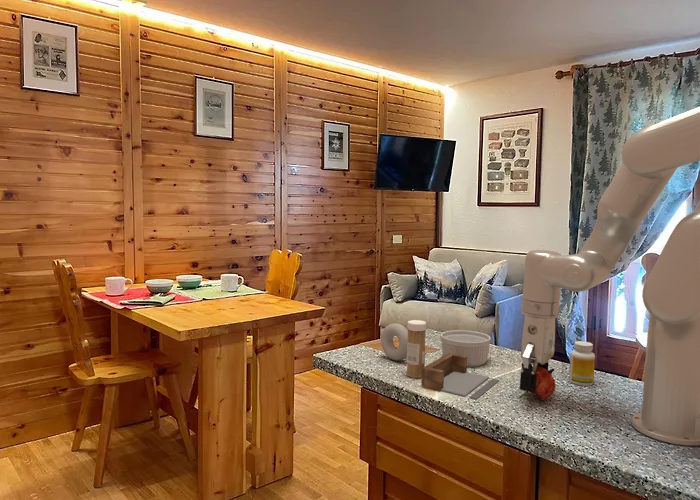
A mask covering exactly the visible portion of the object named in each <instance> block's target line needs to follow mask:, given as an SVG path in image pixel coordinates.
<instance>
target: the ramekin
mask: <svg viewBox="0 0 700 500" xmlns="http://www.w3.org/2000/svg"><path fill="white" fill-rule="evenodd" d="M440 341H441V352H442V357H443V356H444V355H446V354H448V353H454V354H459V355H464V356H467V368H472V367H474V368H476V367H480V366H483V365H484V364H485V363H486V362H487V360H488V357H489V352H490V346H491V343H492V337H491V336H490V335H489V334H486V333H483V332H479V331H474V330H463V329H461V330H460V329H459V330H458V329H456V330H447V331H443V332H442V333H440Z"/></svg>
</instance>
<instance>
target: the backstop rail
mask: <svg viewBox="0 0 700 500" xmlns="http://www.w3.org/2000/svg"><path fill="white" fill-rule="evenodd" d="M454 371H455V372H460V373H466V372H468V367H467V356H464V355H459V354H454V353H448V354H446V355H444V356H443V355H442V356H441V357H439V358H437V359H435V360H434V361H432V362H430V363H428V364H427V365H425V367H423V368H422V378H421V388H424V389H427V390H433V391H436V392H442V391H441V389H442V388H443V385H444V377H446V376H448V375H449V374H451V373H452V372H454Z"/></svg>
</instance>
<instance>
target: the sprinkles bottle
mask: <svg viewBox="0 0 700 500" xmlns="http://www.w3.org/2000/svg"><path fill="white" fill-rule="evenodd" d="M406 325H407V327H406V329H407V330H408V341H407V357H406V363H407V365H406V373H405V374H406V376H407V377H409V378H413V379H422V368H423V367H425V366H426V365H425V364H426V363H425V362H426V332H427V331H426V330H427V322H426V320H425V321H424V320H421V319H420V320H419V319H413V320H411V319H410V320H408V321H407V324H406Z"/></svg>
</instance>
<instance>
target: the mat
mask: <svg viewBox="0 0 700 500" xmlns="http://www.w3.org/2000/svg"><path fill="white" fill-rule="evenodd" d="M489 378H490V377H489V376H486V375H483V374H477V373H472V372H468V371H467V372H466V373H460V372H455V371H454V372H452V373H451V374H449V375H447V376H446V377H444V385H443V388H442V389H441V391H440V392H442V393H447V394H452V395H456V396H460V397H464V398H466V397H467V396H468V395H470V393H472V392H473V391H475V390H476V389H477V388H479V386H481V385H482V384H483V383H485V382H486V381H488V380H489Z"/></svg>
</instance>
